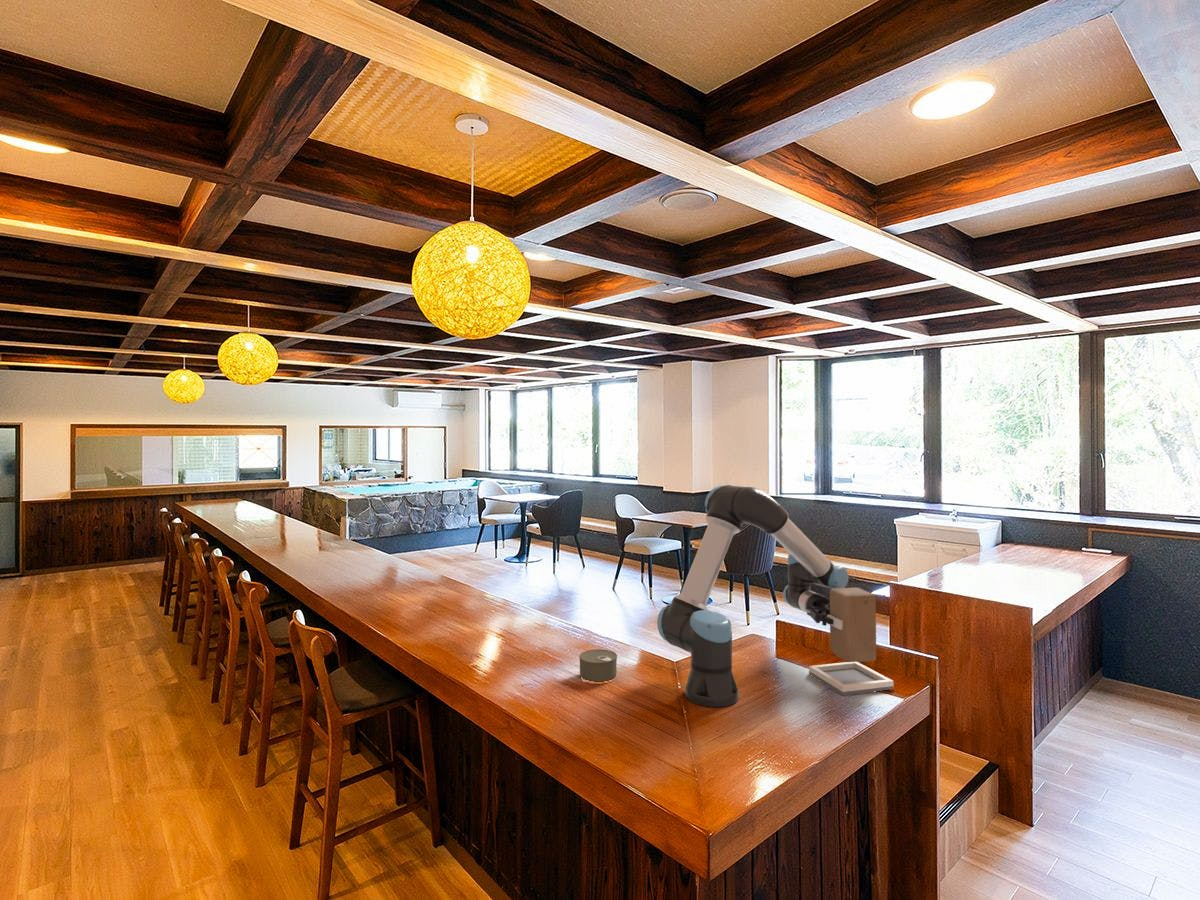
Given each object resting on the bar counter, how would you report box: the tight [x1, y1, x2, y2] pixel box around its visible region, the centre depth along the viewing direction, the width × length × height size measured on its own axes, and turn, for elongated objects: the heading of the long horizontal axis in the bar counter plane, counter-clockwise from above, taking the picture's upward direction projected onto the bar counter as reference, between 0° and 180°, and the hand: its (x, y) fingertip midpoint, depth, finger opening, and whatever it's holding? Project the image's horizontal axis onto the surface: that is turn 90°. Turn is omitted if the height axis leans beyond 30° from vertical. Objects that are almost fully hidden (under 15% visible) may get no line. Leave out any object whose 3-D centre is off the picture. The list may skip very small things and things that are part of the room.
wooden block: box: [829, 586, 877, 663], centre depth 180 cm, size 10×10×20 cm
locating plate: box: [808, 661, 895, 697], centre depth 181 cm, size 17×17×3 cm
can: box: [578, 649, 618, 682], centre depth 188 cm, size 12×12×7 cm
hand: (858, 623), depth 178 cm, fingers closed on wooden block, 11 cm apart
